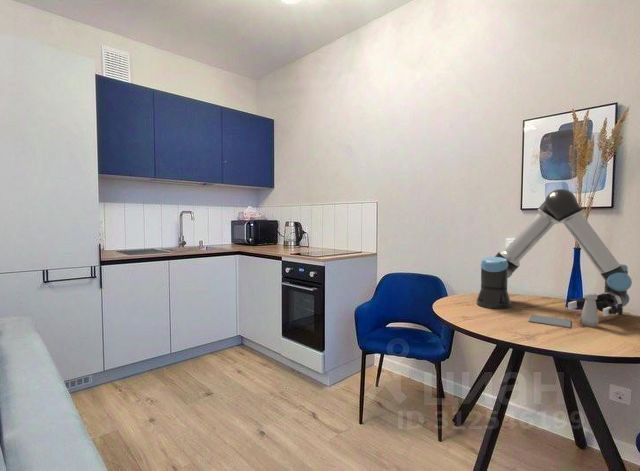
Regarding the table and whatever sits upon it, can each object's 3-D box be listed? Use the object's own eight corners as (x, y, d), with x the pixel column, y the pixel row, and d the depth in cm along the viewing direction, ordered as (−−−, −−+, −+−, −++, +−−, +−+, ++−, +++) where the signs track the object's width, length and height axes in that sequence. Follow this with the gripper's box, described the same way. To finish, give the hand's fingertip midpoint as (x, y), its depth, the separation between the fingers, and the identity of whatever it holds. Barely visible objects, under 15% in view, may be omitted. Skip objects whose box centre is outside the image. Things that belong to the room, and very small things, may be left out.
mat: (528, 321, 142) (528, 320, 142) (531, 315, 151) (531, 314, 151) (570, 328, 133) (570, 326, 133) (570, 321, 143) (570, 319, 143)
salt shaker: (581, 326, 136) (582, 293, 135) (578, 322, 141) (579, 291, 140) (600, 328, 133) (601, 295, 133) (596, 324, 138) (597, 292, 138)
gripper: (642, 317, 137) (623, 326, 125) (574, 305, 156) (552, 312, 144) (643, 298, 137) (624, 306, 125) (575, 289, 156) (553, 294, 144)
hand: (585, 309), depth 134 cm, fingers open, 11 cm apart
